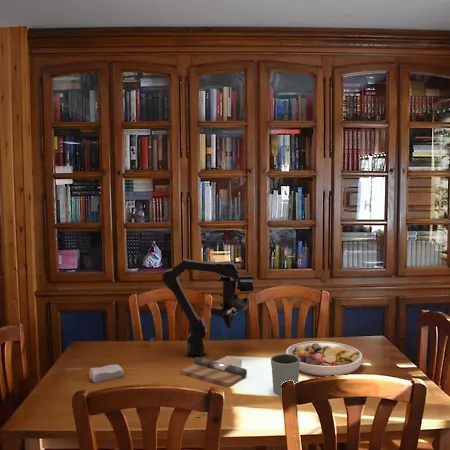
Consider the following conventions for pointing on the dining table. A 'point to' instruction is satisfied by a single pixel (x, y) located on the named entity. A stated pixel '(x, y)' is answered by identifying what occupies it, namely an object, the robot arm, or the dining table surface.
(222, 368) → the pale pink block
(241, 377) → the striped wooden board
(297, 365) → the gray green cup
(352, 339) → the dining table surface
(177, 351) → the dining table surface
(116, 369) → the stone block
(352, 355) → the bowl
